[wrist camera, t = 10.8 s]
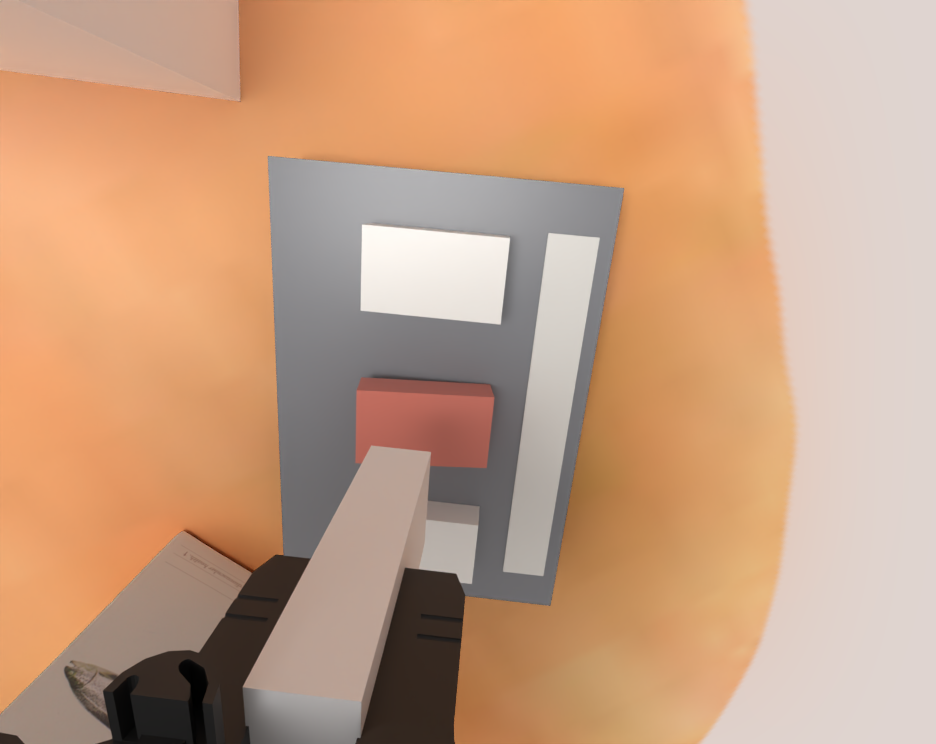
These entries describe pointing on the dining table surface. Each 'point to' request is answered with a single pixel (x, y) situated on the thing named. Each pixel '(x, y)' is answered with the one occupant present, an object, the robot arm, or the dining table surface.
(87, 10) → the milk
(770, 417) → the dining table surface
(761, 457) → the dining table surface
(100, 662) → the supplement box
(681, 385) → the dining table surface
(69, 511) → the dining table surface
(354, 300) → the breaker panel
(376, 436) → the block
